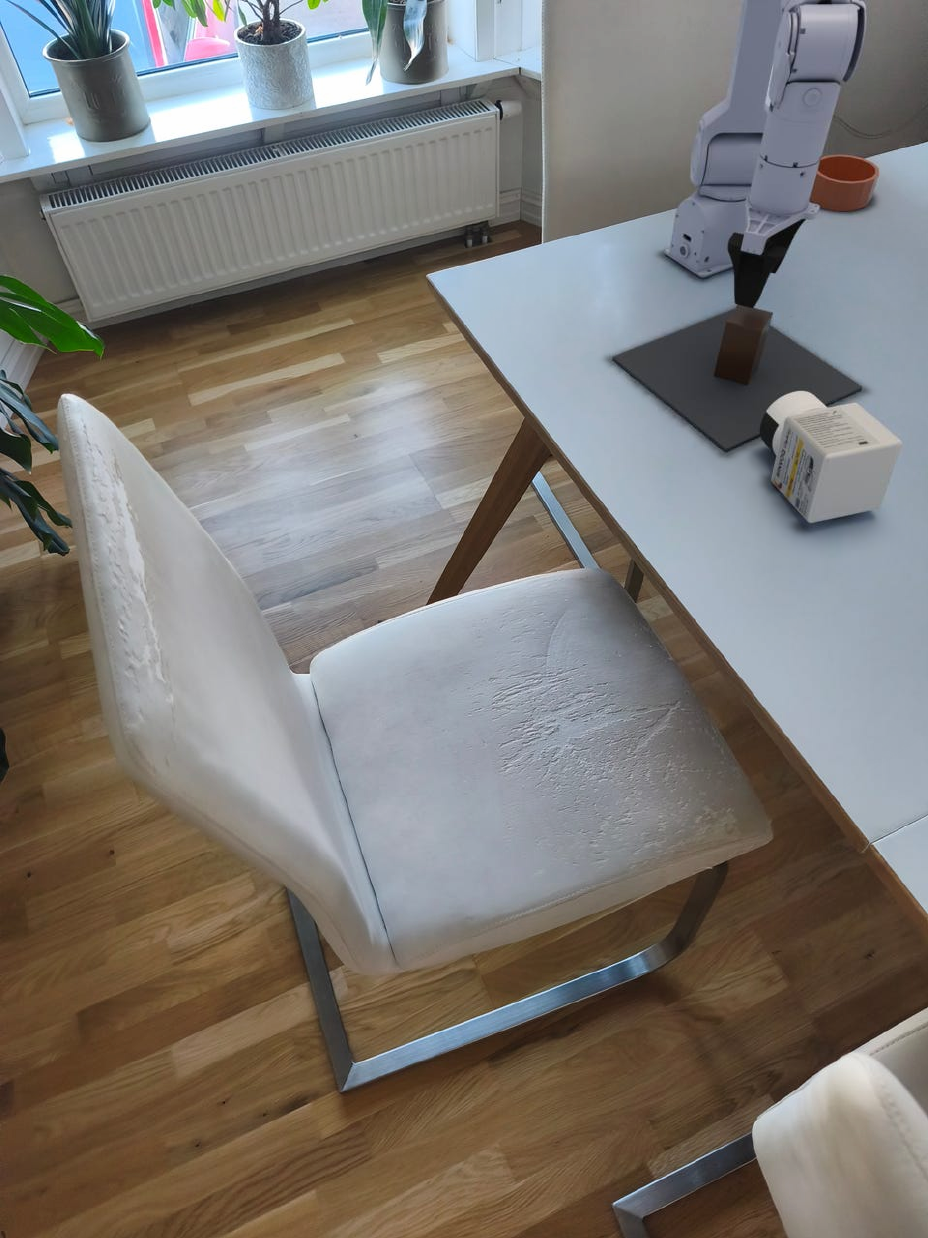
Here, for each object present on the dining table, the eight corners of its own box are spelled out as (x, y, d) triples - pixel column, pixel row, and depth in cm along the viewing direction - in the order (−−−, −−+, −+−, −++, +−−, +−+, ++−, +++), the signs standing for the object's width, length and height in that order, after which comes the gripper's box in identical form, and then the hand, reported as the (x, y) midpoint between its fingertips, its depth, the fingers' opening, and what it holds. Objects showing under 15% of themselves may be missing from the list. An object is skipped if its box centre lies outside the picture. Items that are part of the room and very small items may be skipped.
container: (808, 525, 82) (744, 454, 91) (881, 509, 83) (811, 441, 92) (827, 457, 76) (757, 388, 85) (905, 441, 77) (827, 375, 86)
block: (747, 385, 97) (762, 330, 91) (713, 376, 98) (726, 321, 92) (758, 367, 99) (773, 312, 93) (724, 357, 100) (737, 303, 95)
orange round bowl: (837, 217, 121) (846, 188, 118) (791, 192, 126) (799, 164, 123) (883, 200, 124) (893, 171, 121) (836, 176, 129) (844, 149, 126)
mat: (725, 451, 90) (726, 448, 90) (612, 359, 101) (612, 356, 101) (861, 389, 96) (862, 386, 96) (740, 308, 107) (741, 305, 107)
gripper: (810, 195, 76) (772, 330, 86) (851, 132, 83) (812, 264, 94) (733, 179, 78) (705, 313, 89) (780, 120, 86) (749, 249, 96)
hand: (756, 286), depth 92 cm, fingers open, 7 cm apart
